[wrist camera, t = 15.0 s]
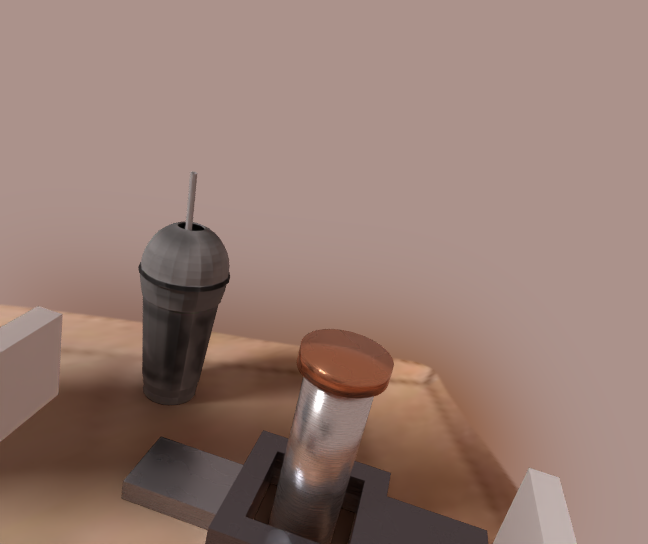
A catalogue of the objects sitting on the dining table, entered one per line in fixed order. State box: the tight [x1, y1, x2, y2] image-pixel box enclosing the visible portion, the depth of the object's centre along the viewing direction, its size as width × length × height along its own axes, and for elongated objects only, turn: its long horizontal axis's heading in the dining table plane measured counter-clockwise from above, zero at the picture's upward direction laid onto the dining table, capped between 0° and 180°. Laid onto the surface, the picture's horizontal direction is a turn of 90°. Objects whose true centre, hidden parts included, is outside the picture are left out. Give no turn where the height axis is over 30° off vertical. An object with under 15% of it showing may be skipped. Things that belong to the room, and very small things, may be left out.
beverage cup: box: [139, 172, 230, 405], centre depth 45 cm, size 7×7×20 cm
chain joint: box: [121, 430, 488, 544], centre depth 37 cm, size 24×10×3 cm, turn 76°
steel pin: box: [268, 329, 394, 544], centre depth 35 cm, size 6×6×14 cm
